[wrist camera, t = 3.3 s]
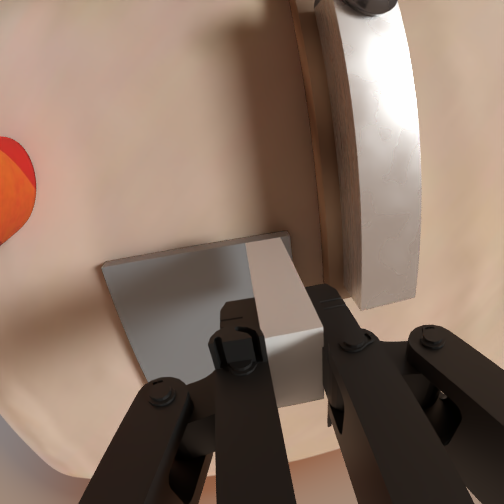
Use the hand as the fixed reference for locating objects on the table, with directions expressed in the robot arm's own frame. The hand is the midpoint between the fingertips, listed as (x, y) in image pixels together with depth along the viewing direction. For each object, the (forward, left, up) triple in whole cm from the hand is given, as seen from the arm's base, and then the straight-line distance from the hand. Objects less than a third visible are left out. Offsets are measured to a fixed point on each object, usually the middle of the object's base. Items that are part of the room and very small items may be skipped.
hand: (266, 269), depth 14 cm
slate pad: (+4, -3, -3) cm, 6 cm away
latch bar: (-5, +6, -2) cm, 8 cm away
